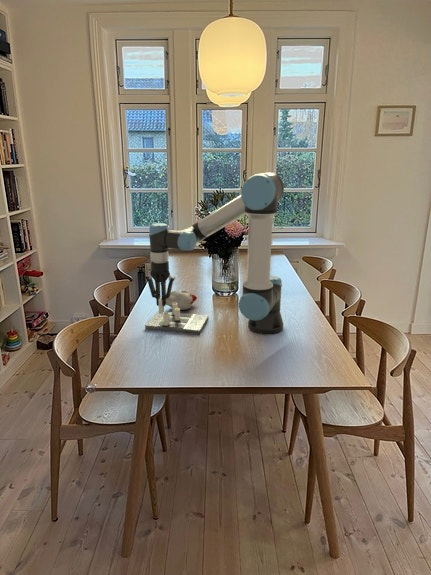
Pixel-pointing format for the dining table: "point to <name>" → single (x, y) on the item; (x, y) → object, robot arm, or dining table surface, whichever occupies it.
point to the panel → (178, 323)
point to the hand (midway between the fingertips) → (161, 312)
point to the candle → (181, 299)
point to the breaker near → (166, 319)
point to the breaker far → (174, 307)
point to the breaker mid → (177, 314)
